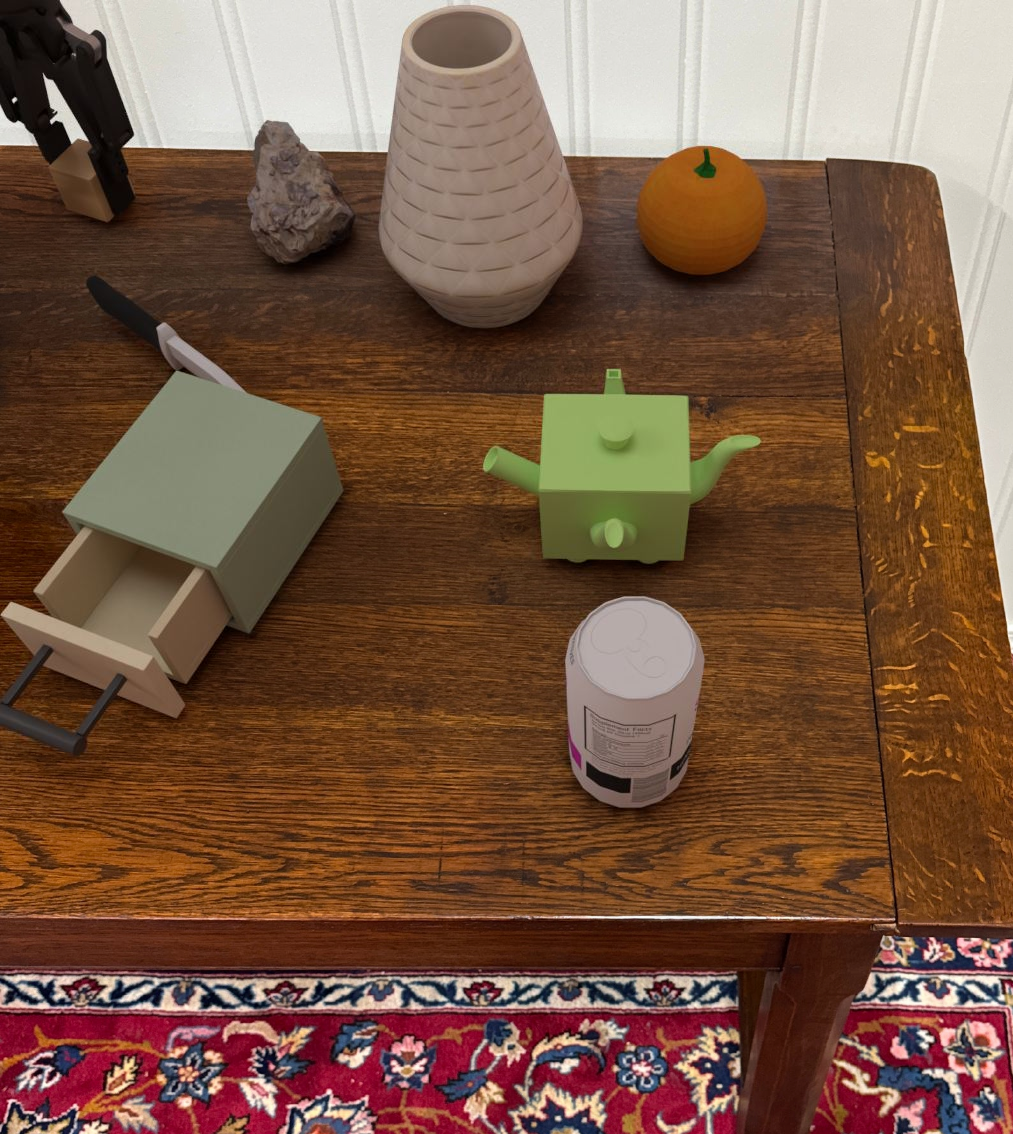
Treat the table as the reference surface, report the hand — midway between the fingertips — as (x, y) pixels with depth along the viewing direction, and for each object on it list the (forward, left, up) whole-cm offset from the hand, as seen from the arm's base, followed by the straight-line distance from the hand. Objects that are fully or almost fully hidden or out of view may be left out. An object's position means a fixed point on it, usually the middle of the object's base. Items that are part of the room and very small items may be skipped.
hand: (100, 198), depth 108 cm
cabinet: (+31, -29, -1) cm, 43 cm away
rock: (+19, +3, -2) cm, 20 cm away
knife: (+20, -16, -2) cm, 26 cm away
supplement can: (+67, -35, -2) cm, 76 cm away
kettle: (+59, -17, -2) cm, 62 cm away
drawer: (+31, -41, -1) cm, 52 cm away
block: (0, 0, 0) cm, 0 cm away
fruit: (+54, +16, -2) cm, 57 cm away
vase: (+38, +4, -2) cm, 39 cm away
